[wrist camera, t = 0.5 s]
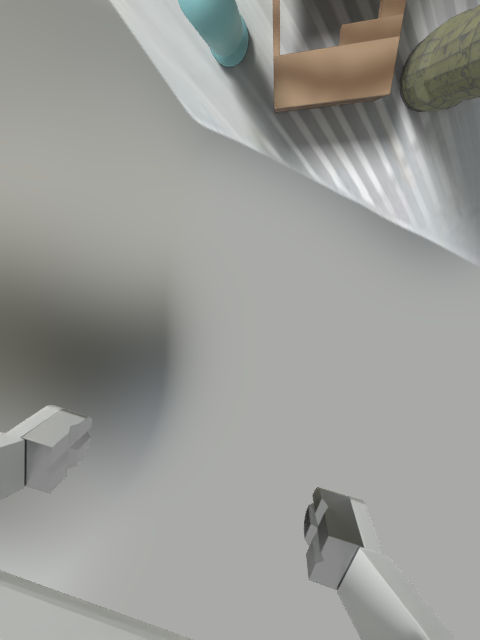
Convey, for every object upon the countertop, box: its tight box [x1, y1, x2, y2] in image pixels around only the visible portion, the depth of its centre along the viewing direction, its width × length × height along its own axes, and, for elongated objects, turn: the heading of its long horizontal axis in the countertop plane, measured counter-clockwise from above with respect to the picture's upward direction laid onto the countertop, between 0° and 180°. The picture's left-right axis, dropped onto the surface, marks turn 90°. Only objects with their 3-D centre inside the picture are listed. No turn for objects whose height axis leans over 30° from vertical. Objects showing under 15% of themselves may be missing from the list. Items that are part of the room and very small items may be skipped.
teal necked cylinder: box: [178, 0, 249, 67], centre depth 32 cm, size 6×6×16 cm
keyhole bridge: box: [273, 0, 406, 113], centre depth 34 cm, size 18×15×7 cm
